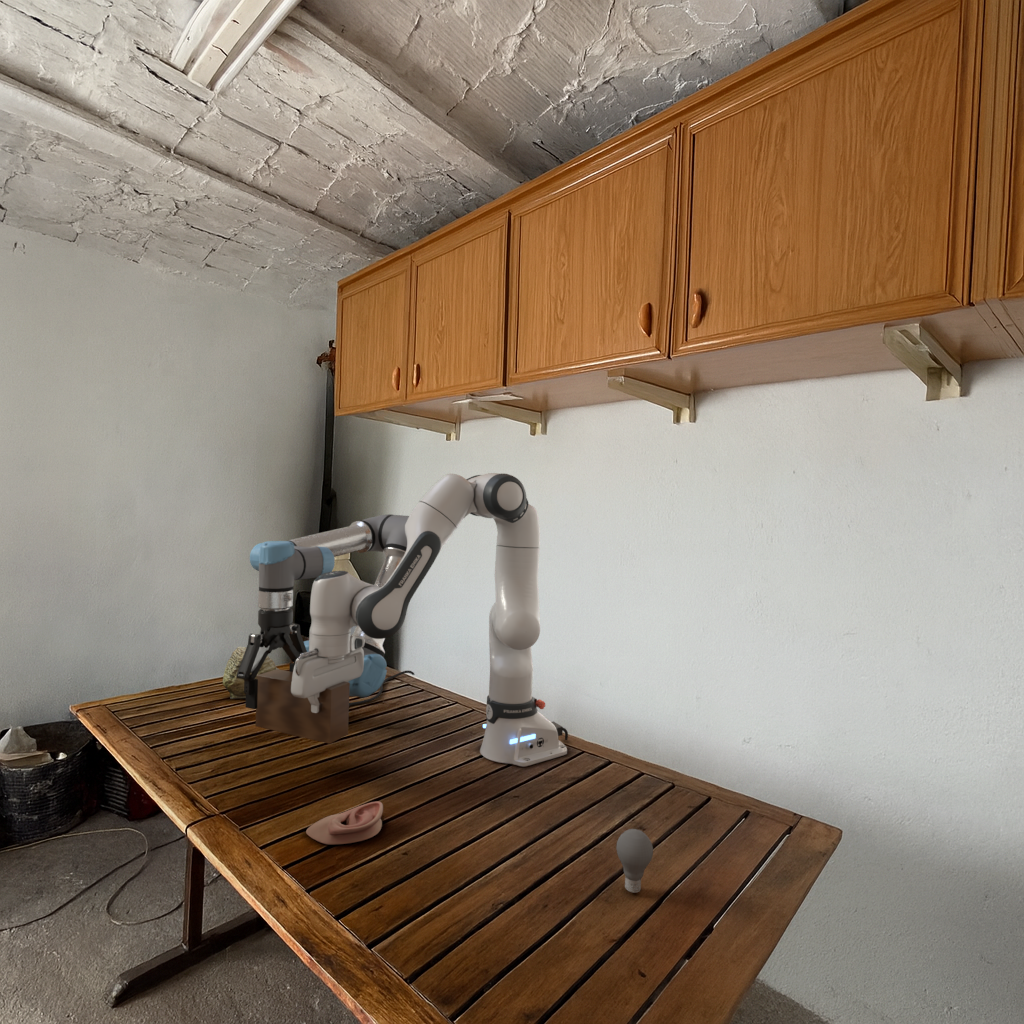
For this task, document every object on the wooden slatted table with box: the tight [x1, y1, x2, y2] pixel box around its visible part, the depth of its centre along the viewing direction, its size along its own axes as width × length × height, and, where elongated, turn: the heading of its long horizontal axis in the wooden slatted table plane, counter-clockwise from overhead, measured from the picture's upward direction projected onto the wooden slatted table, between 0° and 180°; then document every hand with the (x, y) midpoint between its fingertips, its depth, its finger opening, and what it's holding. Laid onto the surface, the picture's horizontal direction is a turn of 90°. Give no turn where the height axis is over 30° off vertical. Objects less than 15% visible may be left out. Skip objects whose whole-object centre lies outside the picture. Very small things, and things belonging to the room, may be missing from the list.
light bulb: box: [615, 828, 654, 894], centre depth 106 cm, size 6×6×10 cm
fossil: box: [222, 646, 279, 699], centre depth 198 cm, size 9×18×15 cm, turn 132°
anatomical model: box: [305, 800, 384, 846], centre depth 121 cm, size 13×4×12 cm
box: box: [255, 668, 350, 745], centre depth 143 cm, size 21×6×12 cm, turn 66°
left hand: (273, 699), depth 147 cm, fingers open, 13 cm apart
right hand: (328, 706), depth 140 cm, fingers closed on box, 6 cm apart
